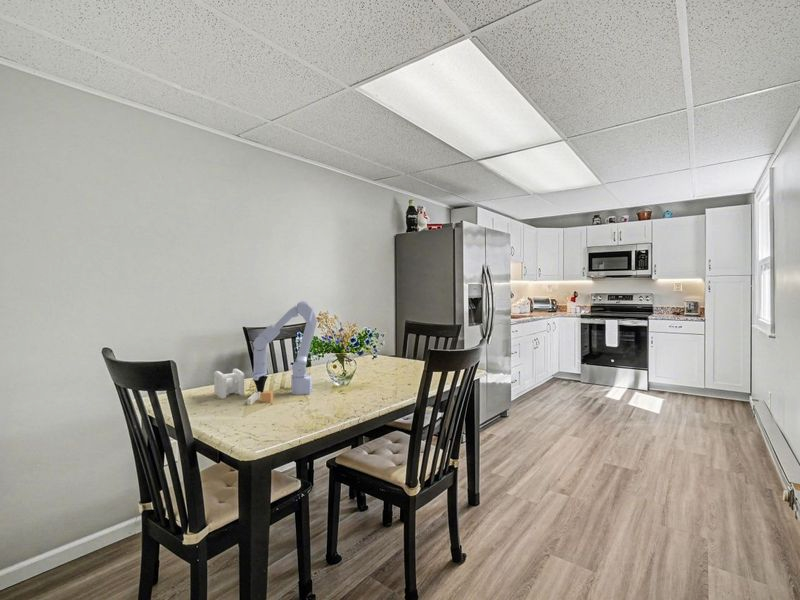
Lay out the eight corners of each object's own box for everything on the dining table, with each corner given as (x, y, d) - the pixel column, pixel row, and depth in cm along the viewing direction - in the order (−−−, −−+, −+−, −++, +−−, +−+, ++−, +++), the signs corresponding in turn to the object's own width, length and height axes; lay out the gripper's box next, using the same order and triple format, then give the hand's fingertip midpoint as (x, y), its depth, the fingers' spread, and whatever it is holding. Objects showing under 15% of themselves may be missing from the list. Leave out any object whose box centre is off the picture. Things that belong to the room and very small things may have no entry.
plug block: (273, 399, 182) (273, 390, 182) (270, 402, 178) (270, 393, 178) (264, 399, 182) (264, 390, 182) (261, 402, 178) (261, 393, 178)
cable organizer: (245, 398, 188) (245, 373, 188) (220, 402, 182) (220, 375, 181) (236, 391, 200) (236, 367, 200) (212, 394, 194) (212, 370, 193)
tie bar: (260, 397, 186) (260, 391, 185) (251, 404, 174) (251, 398, 174) (255, 397, 185) (255, 391, 185) (246, 404, 173) (246, 399, 173)
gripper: (256, 360, 196) (256, 388, 197) (246, 366, 182) (246, 396, 182) (271, 360, 197) (271, 388, 197) (262, 366, 182) (262, 396, 182)
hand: (260, 392), depth 190 cm, fingers closed
